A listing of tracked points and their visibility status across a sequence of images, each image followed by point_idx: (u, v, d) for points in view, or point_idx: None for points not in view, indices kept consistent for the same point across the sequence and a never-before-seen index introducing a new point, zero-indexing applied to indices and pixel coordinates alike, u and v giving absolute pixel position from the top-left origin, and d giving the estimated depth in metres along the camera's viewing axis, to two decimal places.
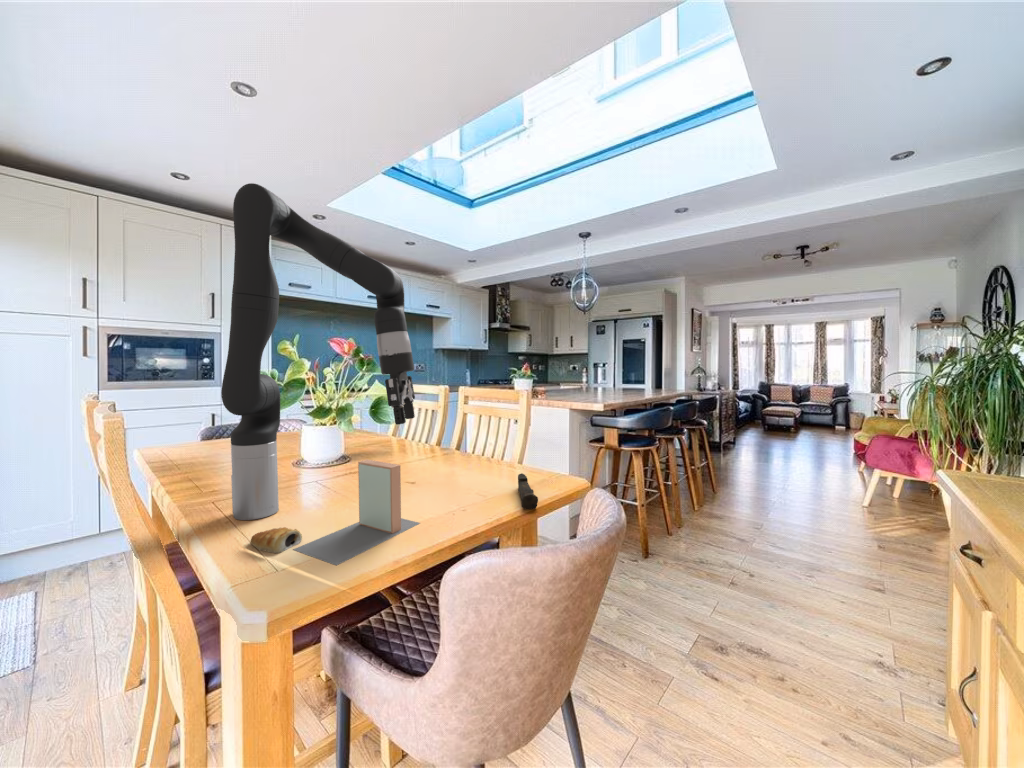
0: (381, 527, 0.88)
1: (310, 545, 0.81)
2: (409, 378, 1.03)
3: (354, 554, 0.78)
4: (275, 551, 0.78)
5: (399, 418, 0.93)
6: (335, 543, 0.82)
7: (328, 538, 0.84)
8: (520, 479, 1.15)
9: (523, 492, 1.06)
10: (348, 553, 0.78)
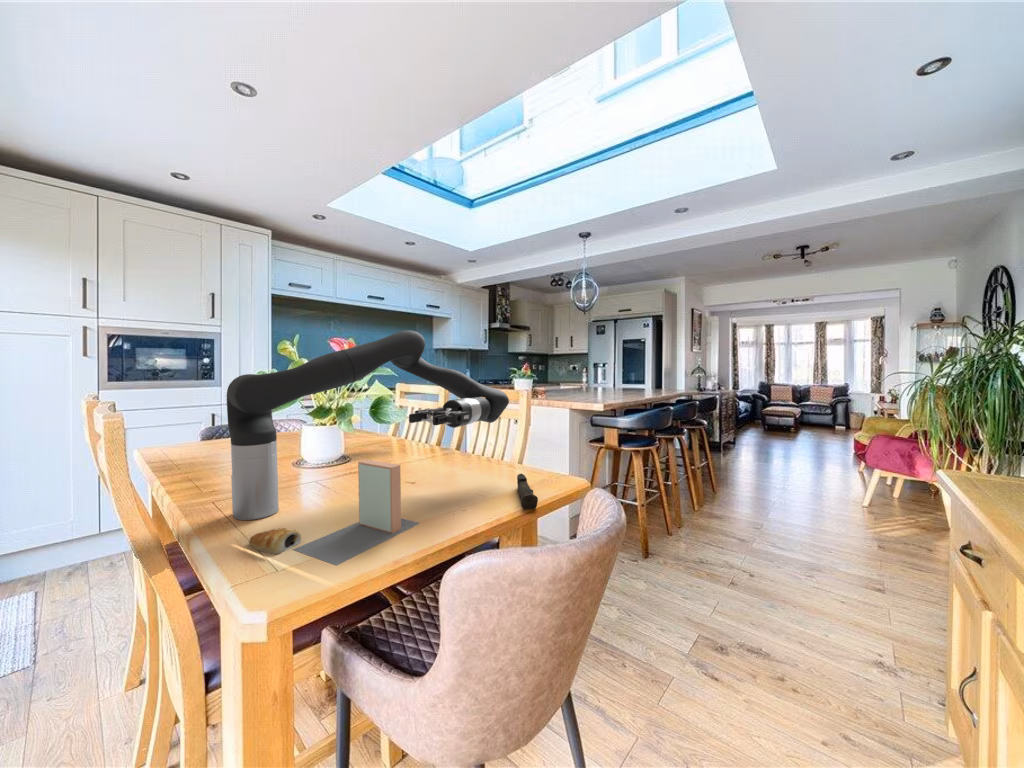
0: (381, 527, 0.88)
1: (310, 545, 0.81)
2: None
3: (354, 554, 0.78)
4: (274, 552, 0.78)
5: (440, 421, 1.00)
6: (335, 543, 0.82)
7: (328, 538, 0.84)
8: (519, 479, 1.15)
9: (523, 492, 1.06)
10: (348, 553, 0.78)
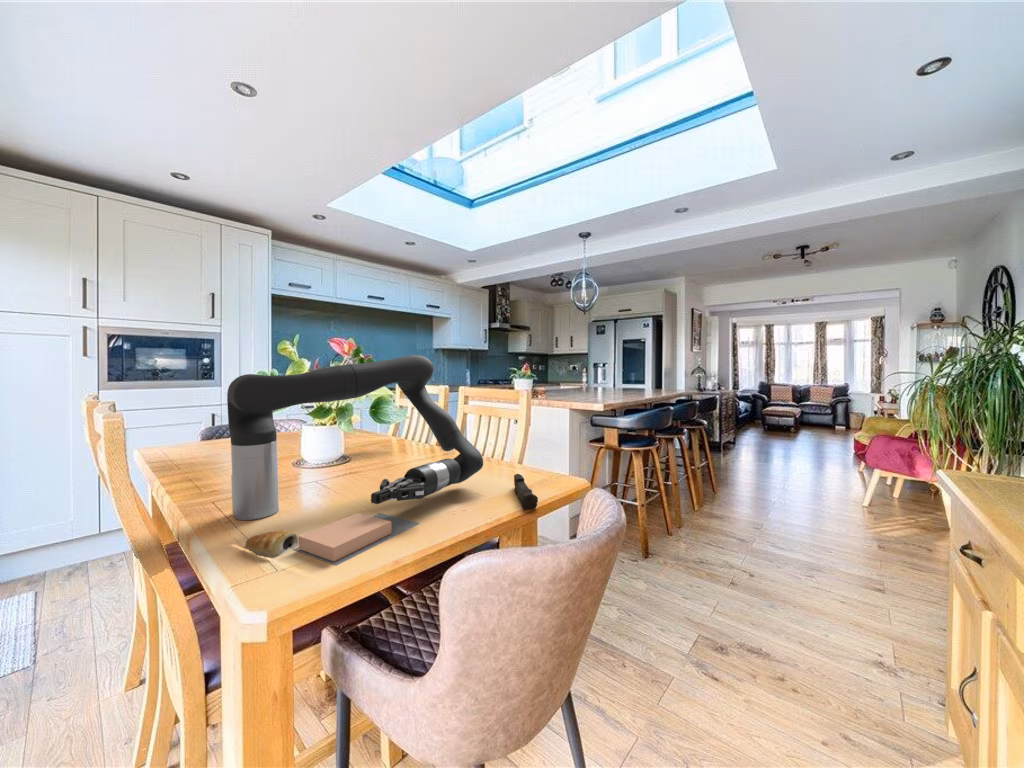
0: None
1: None
2: None
3: (354, 554, 0.78)
4: (273, 554, 0.77)
5: (382, 498, 0.89)
6: None
7: None
8: (517, 479, 1.15)
9: (522, 492, 1.06)
10: None
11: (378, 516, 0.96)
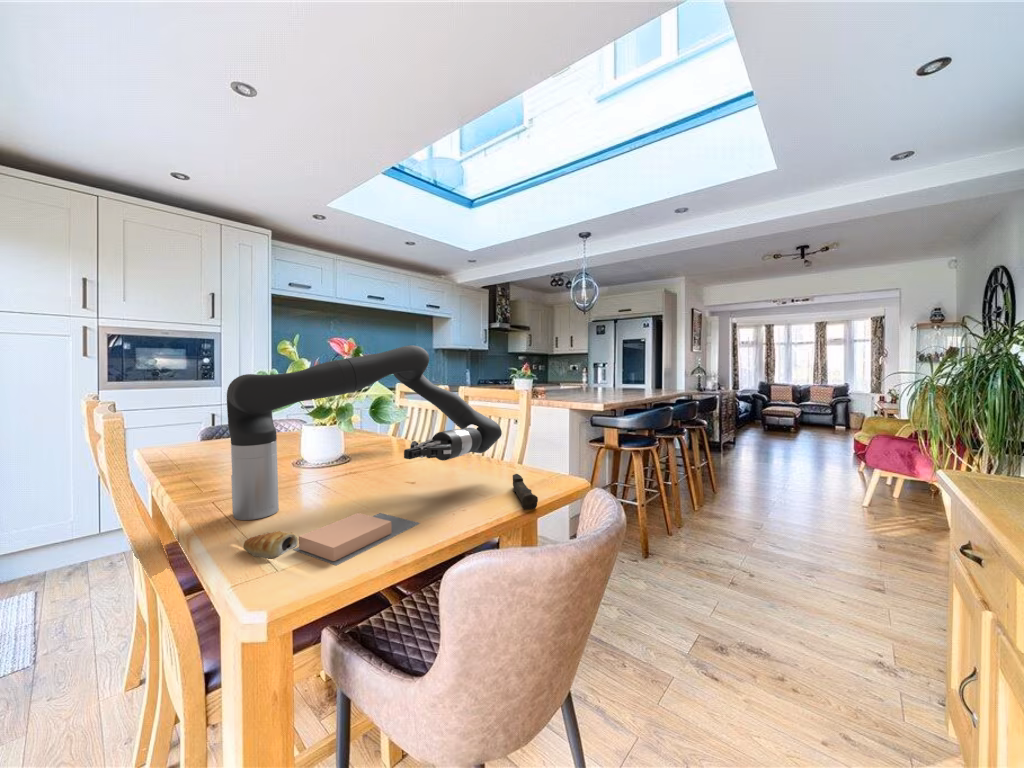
0: None
1: None
2: None
3: (354, 554, 0.78)
4: (272, 555, 0.76)
5: (413, 454, 0.98)
6: None
7: None
8: (516, 479, 1.15)
9: (522, 492, 1.06)
10: None
11: (378, 516, 0.96)
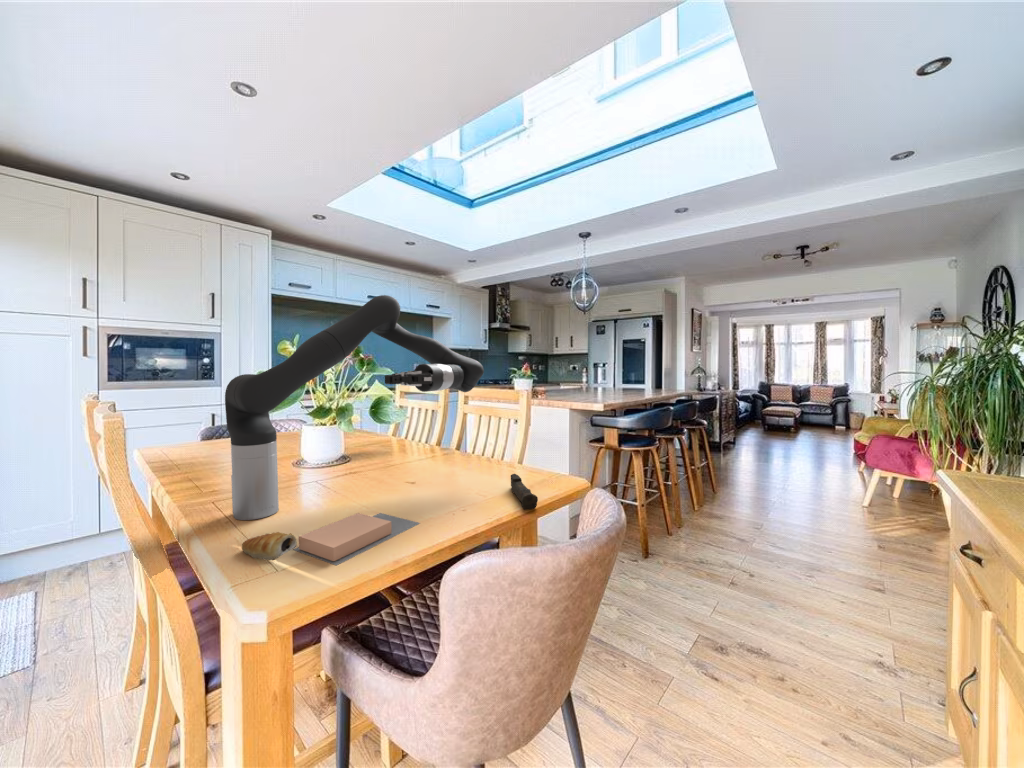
0: None
1: None
2: None
3: (354, 554, 0.78)
4: (271, 556, 0.76)
5: (394, 380, 1.00)
6: None
7: None
8: (514, 479, 1.15)
9: (521, 492, 1.06)
10: None
11: (378, 516, 0.96)
